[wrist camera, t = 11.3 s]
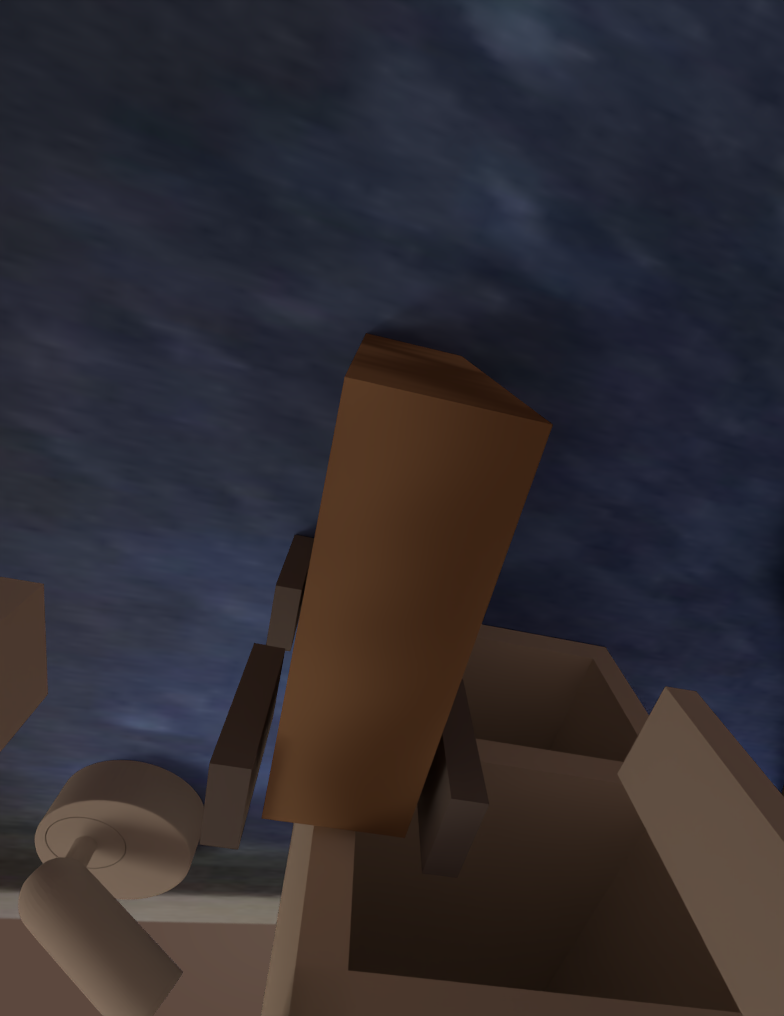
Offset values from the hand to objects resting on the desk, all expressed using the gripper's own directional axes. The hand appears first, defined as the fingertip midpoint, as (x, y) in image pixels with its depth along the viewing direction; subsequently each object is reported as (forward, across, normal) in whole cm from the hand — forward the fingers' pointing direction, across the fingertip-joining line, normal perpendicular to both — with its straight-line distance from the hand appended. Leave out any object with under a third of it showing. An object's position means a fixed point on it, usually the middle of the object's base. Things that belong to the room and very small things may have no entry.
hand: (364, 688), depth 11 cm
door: (+13, +1, 0) cm, 13 cm away
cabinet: (+13, +6, -13) cm, 19 cm away
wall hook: (+14, -9, -24) cm, 29 cm away
